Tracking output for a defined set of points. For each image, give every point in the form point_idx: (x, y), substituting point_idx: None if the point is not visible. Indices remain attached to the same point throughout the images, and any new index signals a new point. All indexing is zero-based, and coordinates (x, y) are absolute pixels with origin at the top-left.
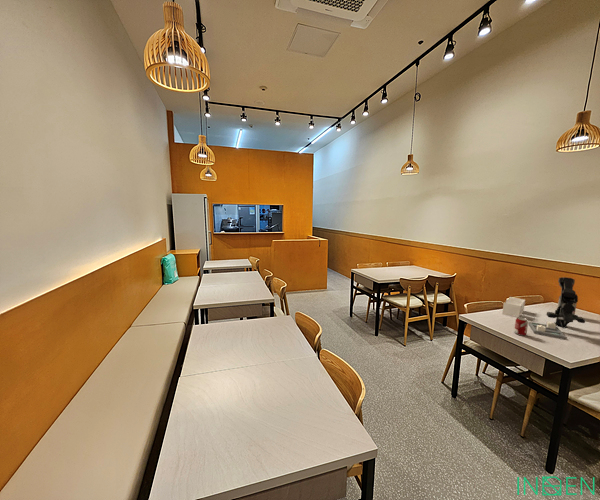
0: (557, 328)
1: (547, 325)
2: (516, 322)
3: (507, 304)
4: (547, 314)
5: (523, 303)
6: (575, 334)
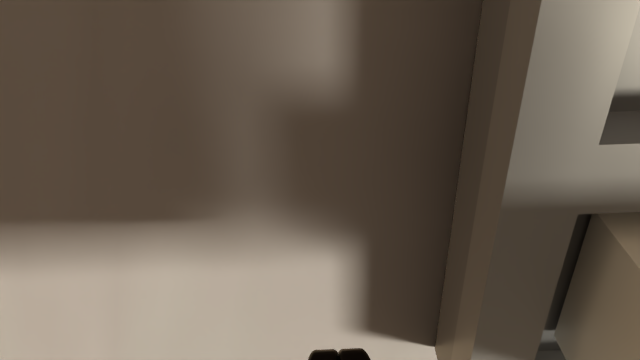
0: (521, 283)
1: None
2: None
3: None
4: None
5: None
6: (8, 247)
